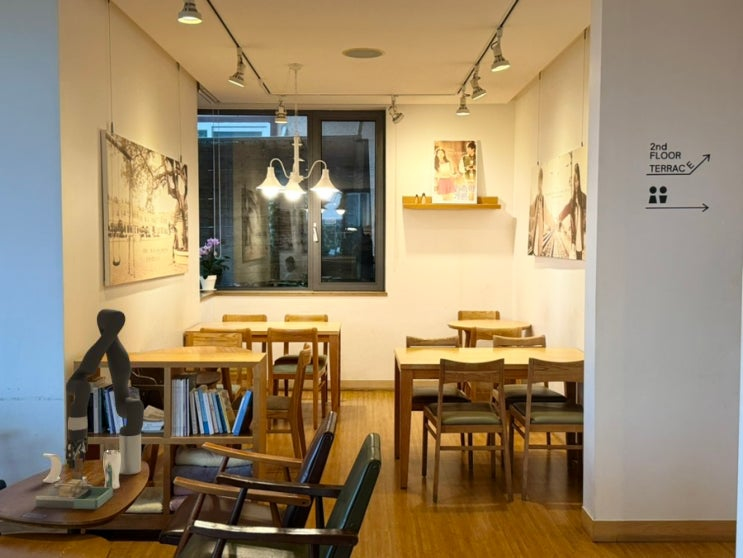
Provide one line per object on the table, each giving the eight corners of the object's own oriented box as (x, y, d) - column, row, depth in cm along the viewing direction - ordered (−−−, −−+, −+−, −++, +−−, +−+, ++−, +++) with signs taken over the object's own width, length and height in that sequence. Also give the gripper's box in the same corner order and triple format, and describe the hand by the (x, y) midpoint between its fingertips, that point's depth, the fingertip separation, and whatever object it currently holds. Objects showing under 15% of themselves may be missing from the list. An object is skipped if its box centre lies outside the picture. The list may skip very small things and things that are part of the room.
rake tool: (80, 483, 294) (80, 455, 294) (87, 483, 294) (87, 455, 294) (67, 492, 283) (67, 463, 283) (74, 492, 283) (74, 463, 283)
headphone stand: (43, 481, 295) (43, 454, 295) (52, 477, 301) (52, 450, 301) (52, 483, 294) (52, 455, 294) (61, 478, 300) (61, 451, 299)
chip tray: (91, 495, 280) (91, 486, 280) (113, 496, 279) (113, 487, 279) (73, 508, 265) (73, 499, 265) (96, 509, 265) (96, 500, 264)
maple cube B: (64, 494, 272) (64, 484, 272) (74, 494, 272) (74, 484, 271) (59, 497, 268) (59, 487, 268) (69, 498, 268) (69, 488, 267)
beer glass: (120, 489, 288) (120, 453, 287) (102, 490, 285) (102, 454, 285) (121, 484, 294) (121, 449, 294) (103, 485, 292) (103, 450, 292)
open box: (55, 493, 281) (55, 483, 281) (91, 495, 280) (91, 484, 280) (35, 507, 266) (35, 496, 266) (73, 508, 265) (73, 497, 265)
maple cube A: (72, 489, 278) (72, 479, 278) (81, 489, 278) (81, 479, 277) (67, 492, 274) (67, 482, 274) (76, 493, 274) (76, 483, 273)
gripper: (77, 422, 295) (76, 460, 295) (60, 430, 281) (59, 470, 281) (94, 423, 295) (93, 461, 295) (78, 431, 280) (77, 470, 281)
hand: (76, 465), depth 288 cm, fingers open, 8 cm apart
